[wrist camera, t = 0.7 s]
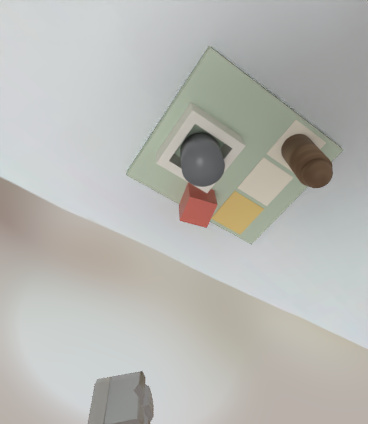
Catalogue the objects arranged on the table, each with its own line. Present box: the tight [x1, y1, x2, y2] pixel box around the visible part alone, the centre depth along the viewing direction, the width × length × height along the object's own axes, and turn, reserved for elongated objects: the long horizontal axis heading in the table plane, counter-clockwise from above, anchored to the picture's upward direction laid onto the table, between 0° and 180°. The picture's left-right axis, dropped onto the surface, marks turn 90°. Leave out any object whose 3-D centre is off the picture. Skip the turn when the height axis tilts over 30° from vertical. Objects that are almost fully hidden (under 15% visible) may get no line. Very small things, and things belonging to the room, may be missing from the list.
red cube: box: [179, 183, 218, 228], centre depth 43 cm, size 4×4×4 cm
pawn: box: [281, 134, 333, 188], centre depth 37 cm, size 4×4×8 cm
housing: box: [156, 102, 245, 193], centre depth 39 cm, size 7×7×3 cm
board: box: [126, 46, 343, 244], centre depth 42 cm, size 17×20×1 cm
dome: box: [180, 133, 225, 187], centre depth 37 cm, size 4×4×4 cm
